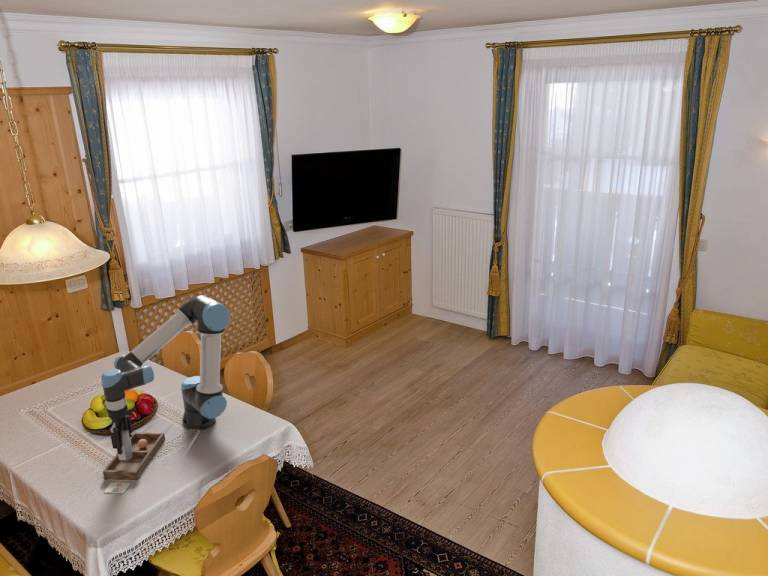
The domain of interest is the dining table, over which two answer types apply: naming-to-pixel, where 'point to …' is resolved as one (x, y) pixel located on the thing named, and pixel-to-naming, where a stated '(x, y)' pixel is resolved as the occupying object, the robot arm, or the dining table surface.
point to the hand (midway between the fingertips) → (125, 455)
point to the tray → (134, 458)
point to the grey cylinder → (126, 445)
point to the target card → (117, 488)
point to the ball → (142, 443)
